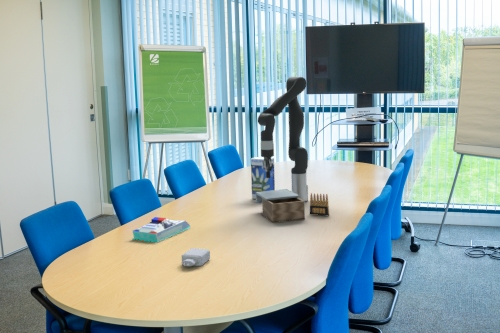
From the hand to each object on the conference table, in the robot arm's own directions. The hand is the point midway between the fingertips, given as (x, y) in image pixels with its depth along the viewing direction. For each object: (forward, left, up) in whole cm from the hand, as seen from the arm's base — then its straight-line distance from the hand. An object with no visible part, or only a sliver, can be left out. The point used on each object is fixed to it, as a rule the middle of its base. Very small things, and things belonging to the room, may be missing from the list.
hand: (268, 177), depth 337 cm
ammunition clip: (-20, +28, -18) cm, 39 cm away
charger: (+61, +84, -18) cm, 106 cm away
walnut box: (0, +25, -18) cm, 31 cm away
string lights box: (-5, -26, -18) cm, 32 cm away
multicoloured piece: (+67, +30, -19) cm, 76 cm away
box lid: (0, +15, -12) cm, 20 cm away
